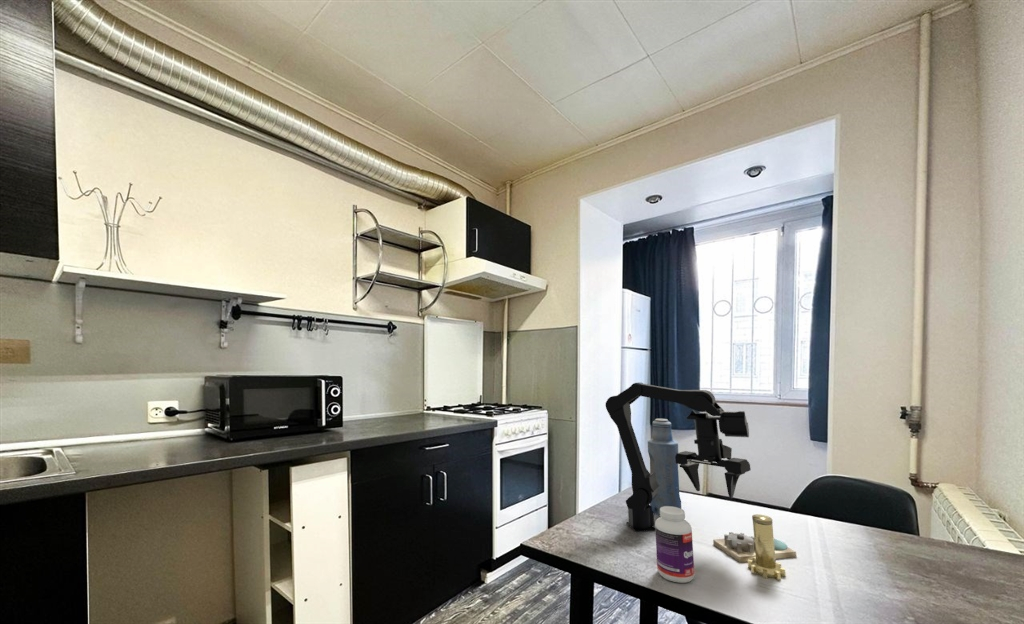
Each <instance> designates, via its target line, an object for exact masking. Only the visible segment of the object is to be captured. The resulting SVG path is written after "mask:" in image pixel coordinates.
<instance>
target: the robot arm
mask: <svg viewBox="0 0 1024 624" xmlns="http://www.w3.org/2000/svg"><path fill="white" fill-rule="evenodd" d="M640 397H645V398H649V399H655V400H661V401H665V402H671V403H675V404H680V405H682V406H683V407H685V408H688V409H691V411H690V413H689V414H688V415H687V416H686V419H687V420H694V426H695V427H694V429H695V437H696V439H694V444H695V445H696V446H697V452H695V451H687V450H683V451H681V452H678V453H677V454H676V455H675V463H676V464H678V465H679V467H680V468H682V469H683V471H684V472H685V474H686V475H687V476H688V479H689V480H690V482H691V483H692V485H693V487H694V489H695V490H696V491H697V492H700V491H701V486H700V477H699V467H700V464H703V465H707V466H708V465H709V466H715V467H720V468H724V470H725V471H726V472H724V473H723V474H724V478H725V484H726V491H727V493H728V498H729V499H733V498H734V495H735V490H736V486H737V484H738V481H739V478H740V476H742V475H744V474H746V473H748V472H749V471H751V464H750V462H749V461H748V459H746V458H739V457H738V458H737V457H732V450H733V448H732V447H730V446H727V445H725V444H723V440H722V438H720V437H719V436H720V435H719V432H720V433H721V434H724V437H727V438H728V437H731V438H732V437H733V438H750V428H749V422H748V420H747V415H746V412H745V410H738V411H725V410H724V409H723V408H722V407H721V405H719V404H718V402H716V398H715V395H714V394H713V393H712V392H711V391H709V390H707V389H676V388H672V387H671V388H670V387H665V386H660V385H658V386H657V385H653V384H649V383H648V384H646V383H643V382H634V383H632V384H631V385H630V386H629V387H627V388H626V389H625V390H623V391H622V392H620V393H618V394H616V395H612V396H610V397H609V398H607V399H606V402H605V410H606V411H607V413H608V415H609V417H610V419H611V420H612V422H613V423H614V424H615V425H616V427H617V430H618V434H619V436H620V440H621V442H622V446H623V449H624V452H625V456H626V458H627V459H626V460H627V462H628V466H629V469H630V472H631V490H632V494H631V495H630V496H629V497H628V498H627V499H626V500H625V504H626V507H627V515H628V521H626V522H625V523H626V525H627V526H628V527H630V528H631V529H632V530H633V531H634V532H636V533H638V532H639V533H640V532H652V531H654V532H655V515H654V512H653V511H652V506H650V503H651V502H652V500H653V499H654V498H655V497H656V496H657V494H658V487H659V485H658V483H657V481H656V476H655V473H652V474H650V471H649V470H648V469H647V466H646V464H645V461H644V458H643V455H642V452H641V448H640V446H639V445H640V444H639V443H638V439H637V437H636V433H635V431H634V427H633V424H632V409H631V405H632V404H633V403H634V402H636V401H637V400H638V399H639V398H640ZM696 411H697V412H696ZM709 415H710V416H709Z"/></svg>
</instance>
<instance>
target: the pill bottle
mask: <svg viewBox="0 0 1024 624" xmlns="http://www.w3.org/2000/svg"><path fill="white" fill-rule="evenodd" d="M685 512H686V511H685V510H684V509H682V508H681V509H680V508H677V507H672V506H664V507H661V508H660V515H659V516H660V517H658V518H657V519H655V521H654V527H655V530H654V532H655V549H656V551H655V552H656V566H657V572H658V574H659V575H660V576H661V577H662V578H664V579H665V580H667V581H670V582H674V583H682V584H684V583H690V582H691V581H693V579H694V578H695V560H694V545H693V544H694V543H693V531H692V525H691V524H690V522H688V520H687V519H685V518H686V513H685Z"/></svg>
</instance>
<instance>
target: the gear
mask: <svg viewBox="0 0 1024 624" xmlns="http://www.w3.org/2000/svg"><path fill="white" fill-rule="evenodd" d="M751 518H752V519H751V520H752V528H753V529H752V530H753V536H754V542H755V555H756V557H753V560H748V561H747V567H748V568H749V569H750V572H751V573H752V574H757V575H760V576H762V577H763V579H768V578H769V579H776V580H778V581H780V580H781V579H782V578H781V577H786V568H785V567H782V563H780V562H778V561H776V560H777V559H775V548H774V539H775V537H774V529H773V528H774V525H773V519H772V517H771V516H768V515H765V514H753V515H752V517H751Z"/></svg>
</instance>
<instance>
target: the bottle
mask: <svg viewBox="0 0 1024 624" xmlns="http://www.w3.org/2000/svg"><path fill="white" fill-rule="evenodd" d="M672 432H673V431H672V422H671V421H669V420H668V419H667V418H655V419H654V420H653V421H652V436H651V437H652V438H649V439H648V440H647V453H648V456H649V470H650V471H649V473H650V474H652V473H655V476H656V481H657V483H658V485H659V487H658V494H657V496H656V497H655V498H654V499H653V500H652V502H651V503H650V504H649V505H650V506H652V511H653V512H654V514H655V515H657V516H660V508H661V507H664V506H672V507H677V508H680V509H682V499H681V496H680V495H681V494H680V480H679V479H680V476H679V464H676V463H675V455H676V454H677V453H679V442H678V440H674V438H673V433H672Z"/></svg>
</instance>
